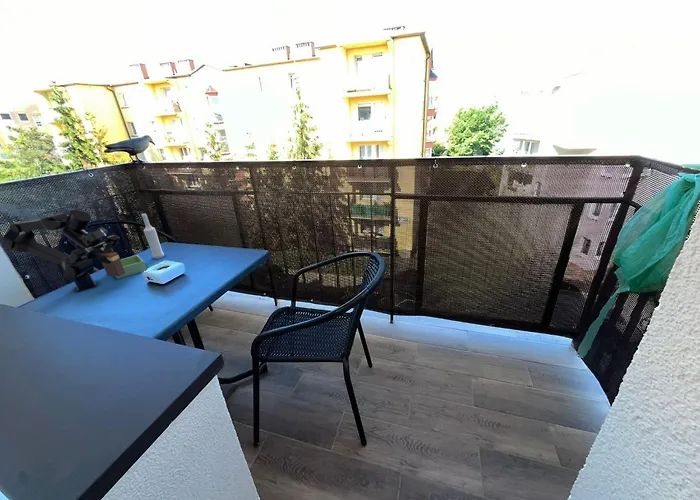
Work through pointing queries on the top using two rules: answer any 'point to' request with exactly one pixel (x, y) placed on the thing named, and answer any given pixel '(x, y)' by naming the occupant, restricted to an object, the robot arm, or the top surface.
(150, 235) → the bottle
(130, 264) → the green open tray
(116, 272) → the chocolate bar
